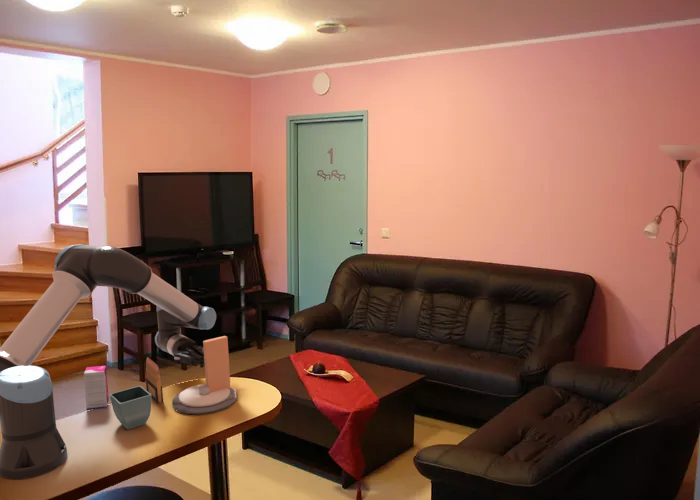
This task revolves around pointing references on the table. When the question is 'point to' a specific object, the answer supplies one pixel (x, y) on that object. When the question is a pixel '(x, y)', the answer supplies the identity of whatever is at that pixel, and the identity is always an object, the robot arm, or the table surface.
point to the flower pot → (132, 406)
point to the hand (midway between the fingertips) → (216, 365)
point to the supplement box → (96, 387)
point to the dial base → (207, 409)
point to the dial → (211, 376)
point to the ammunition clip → (153, 381)
